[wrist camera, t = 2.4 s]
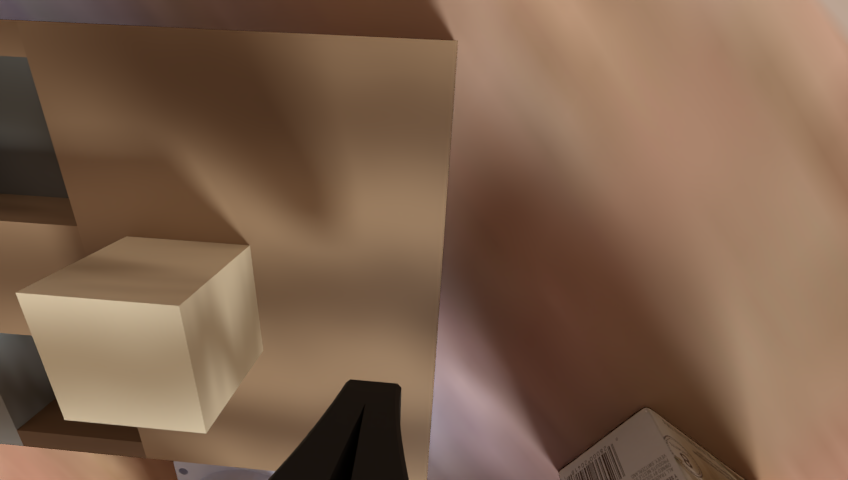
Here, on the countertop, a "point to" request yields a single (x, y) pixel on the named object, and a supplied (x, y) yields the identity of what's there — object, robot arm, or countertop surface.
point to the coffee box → (647, 455)
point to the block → (147, 332)
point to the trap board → (234, 211)
